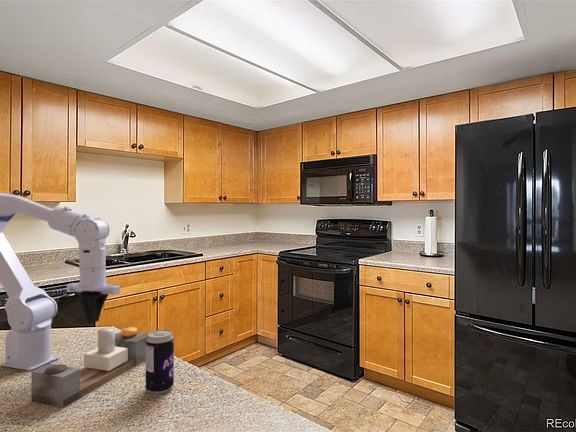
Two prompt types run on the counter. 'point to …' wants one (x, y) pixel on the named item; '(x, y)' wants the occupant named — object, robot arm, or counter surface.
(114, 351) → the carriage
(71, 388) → the rail
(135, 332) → the button
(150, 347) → the beverage can
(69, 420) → the counter surface
